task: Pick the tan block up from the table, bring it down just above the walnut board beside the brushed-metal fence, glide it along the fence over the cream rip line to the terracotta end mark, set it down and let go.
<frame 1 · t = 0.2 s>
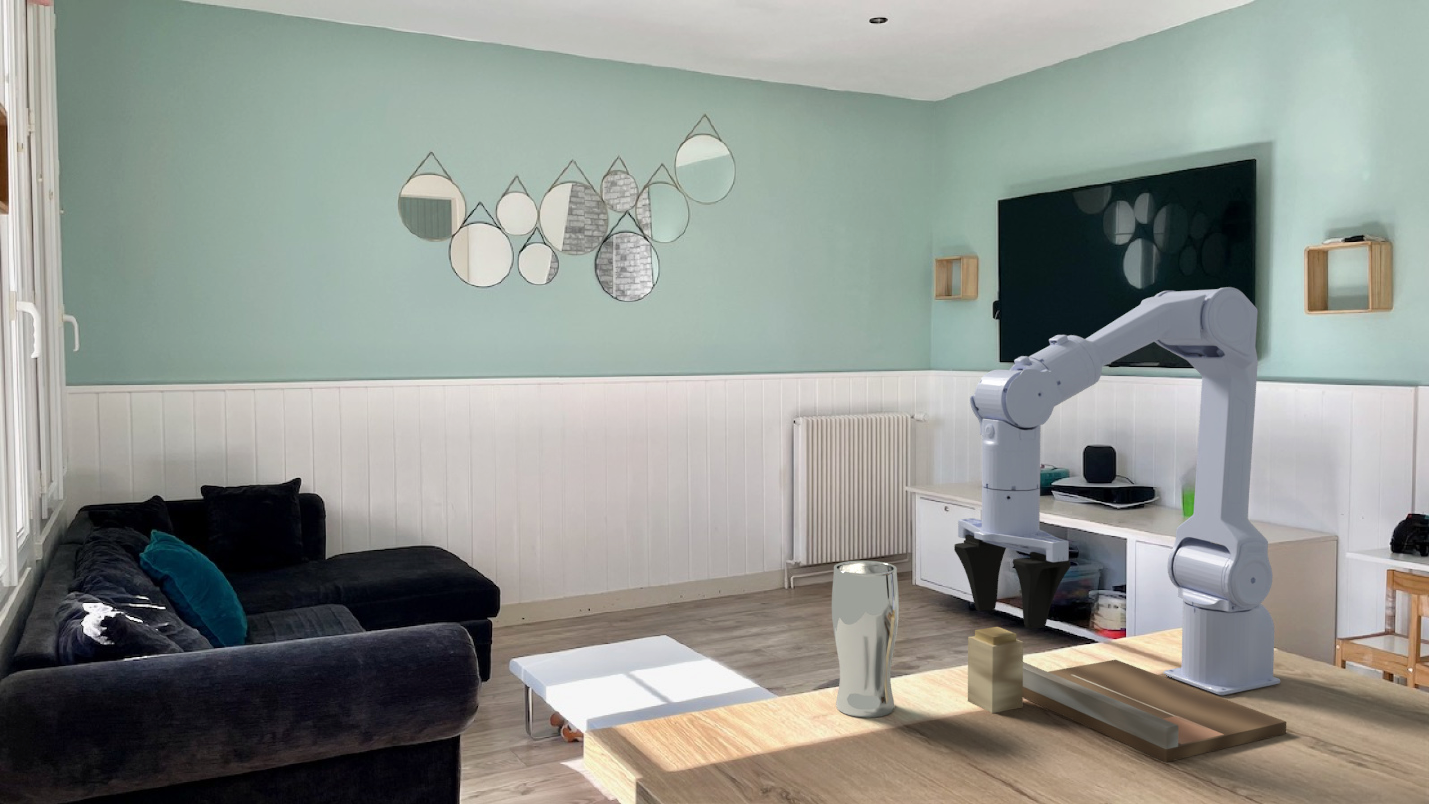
hand: (1009, 618, 109), 10 cm above the table, tool pointing down, fingers open, 7 cm apart
beer glass: (865, 709, 112), on the table
tan block: (994, 704, 112), on the table
board: (1137, 710, 110), on the table
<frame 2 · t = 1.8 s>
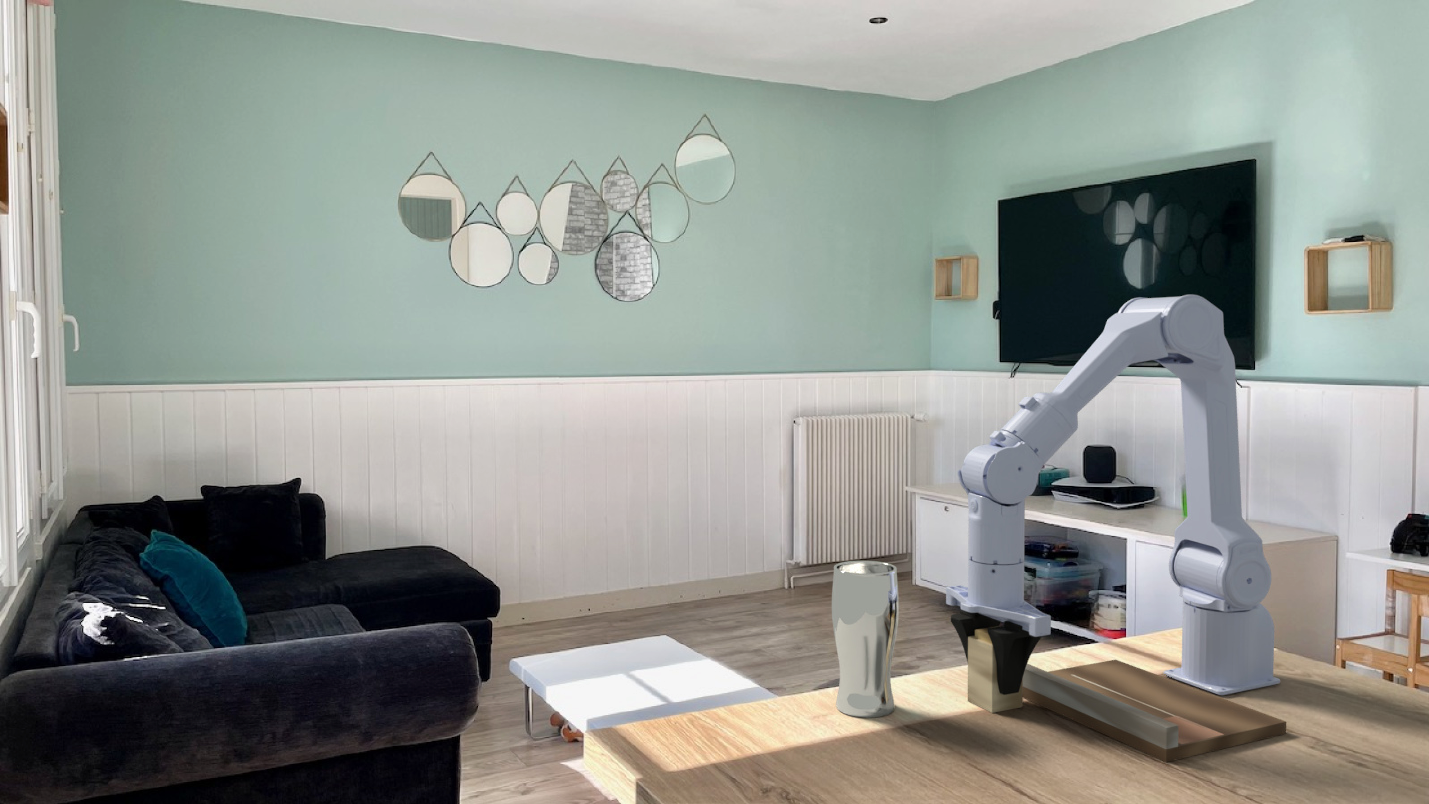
hand: (994, 686, 112), 2 cm above the table, tool pointing down, fingers closed on tan block, 4 cm apart
tan block: (994, 703, 112), on the table, touching gripper
everything else where it was.
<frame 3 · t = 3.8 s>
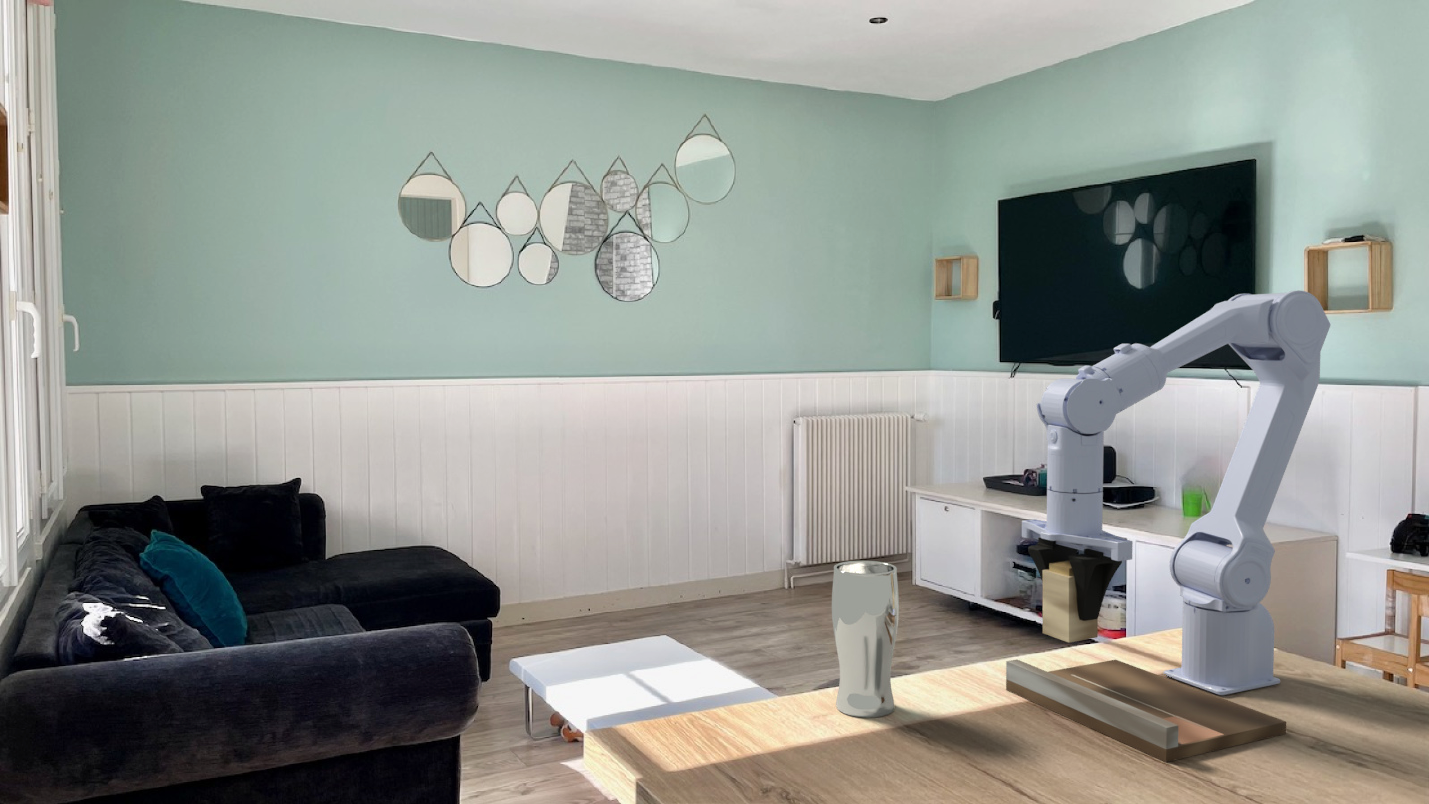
hand: (1073, 614, 115), 9 cm above the table, tool pointing down, fingers closed on tan block, 4 cm apart
tan block: (1069, 635, 115), point 6 cm above the table, touching gripper
everything else where it was.
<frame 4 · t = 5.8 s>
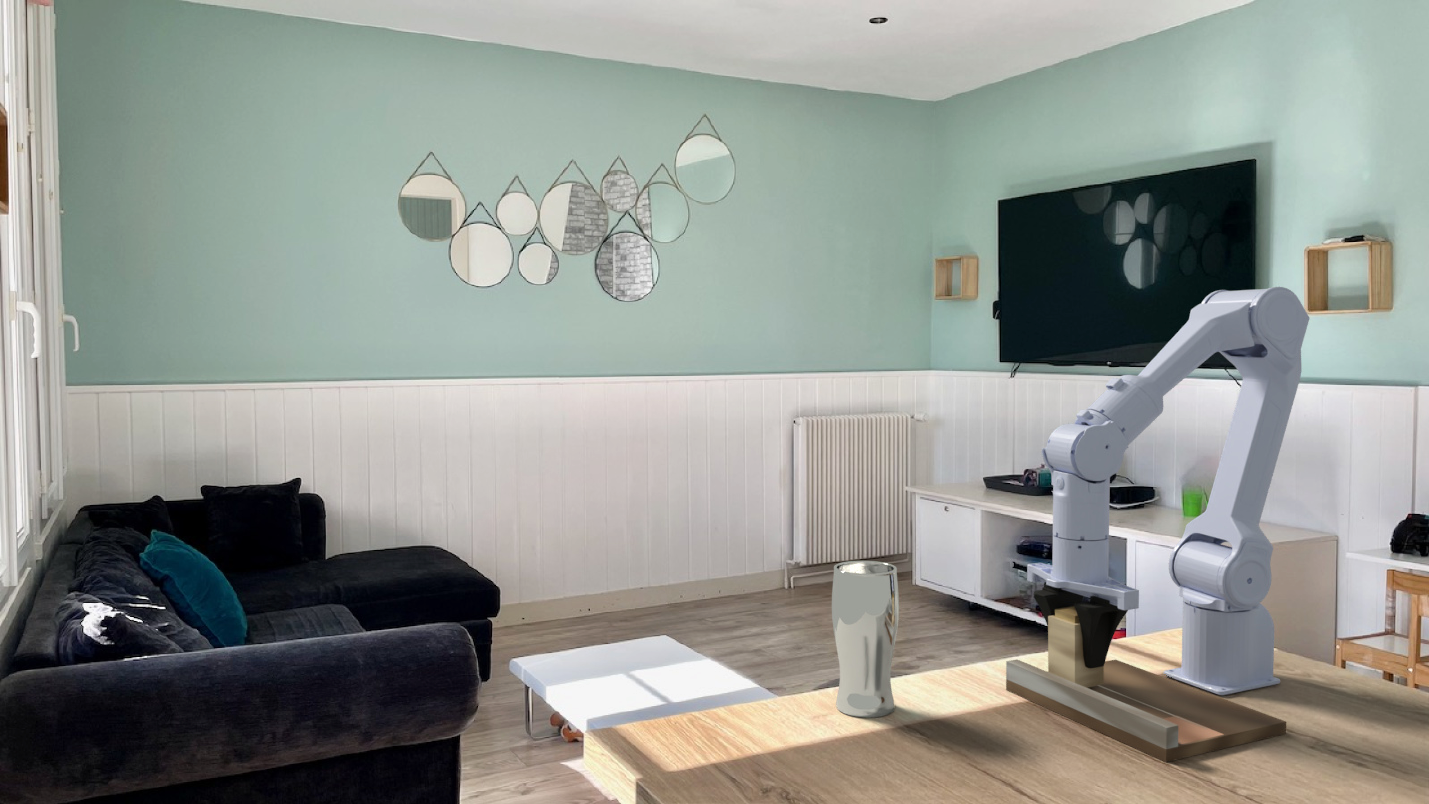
hand: (1079, 660, 114), 4 cm above the table, tool pointing down, fingers closed on tan block, 4 cm apart
tan block: (1075, 681, 114), point 2 cm above the table, touching gripper
everything else where it was.
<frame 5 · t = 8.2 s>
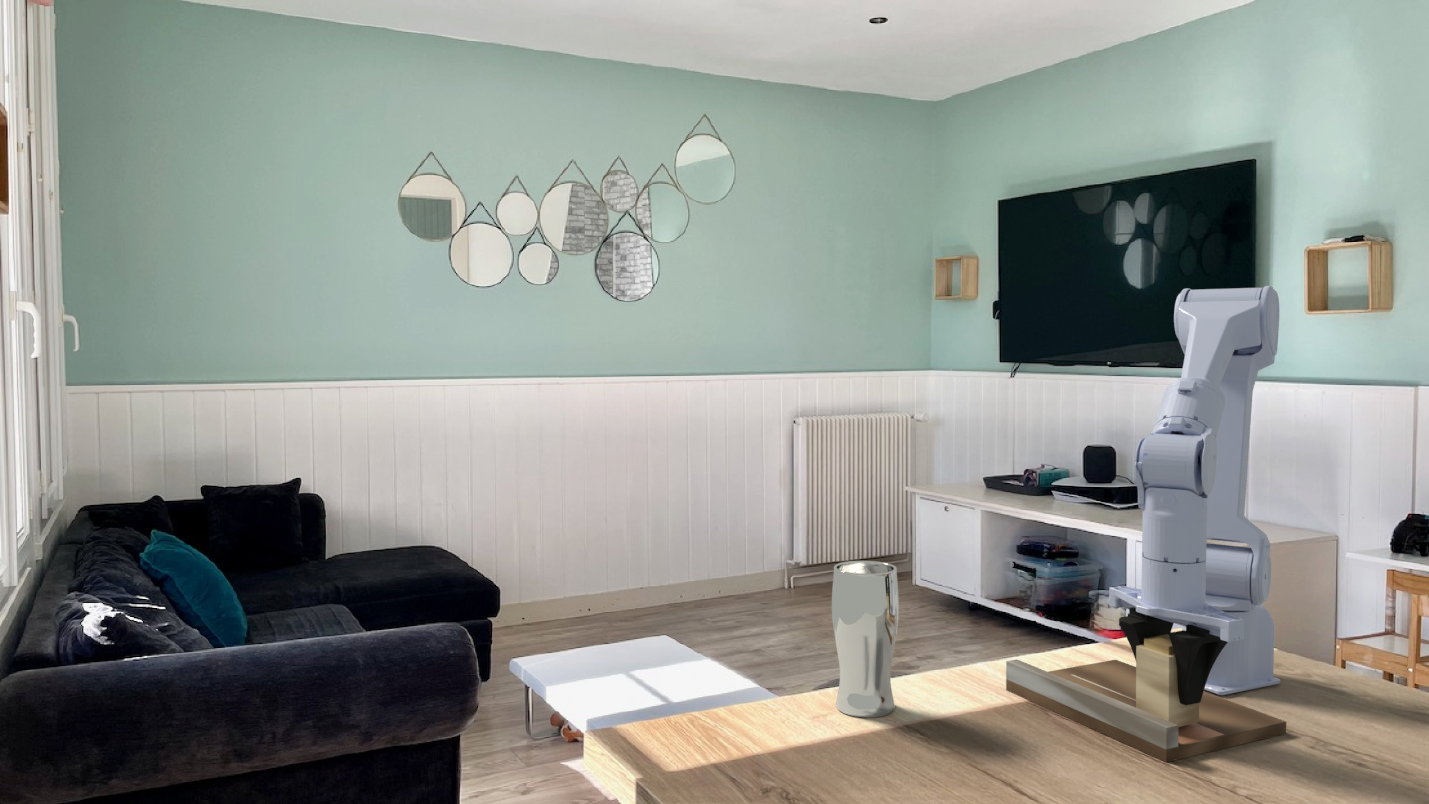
hand: (1171, 695, 103), 4 cm above the table, tool pointing down, fingers closed on tan block, 4 cm apart
tan block: (1167, 718, 103), point 2 cm above the table, touching gripper
everything else where it was.
when the fingers open (4 cm above the table, at t = 10.0 s): tan block stays where it is, resting on board.
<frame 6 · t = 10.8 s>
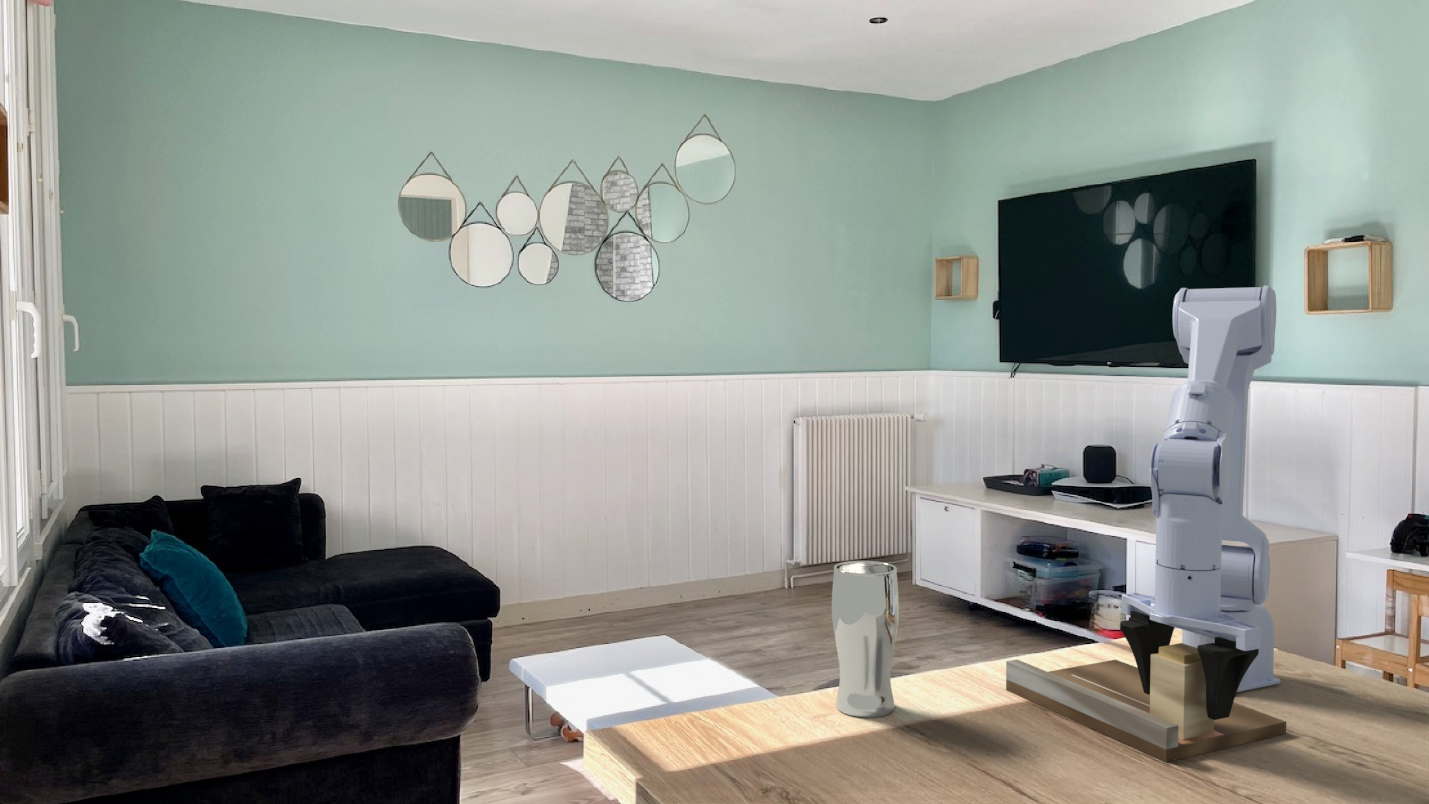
hand: (1185, 704, 102), 4 cm above the table, tool pointing down, fingers open, 7 cm apart
tan block: (1181, 729, 102), point 1 cm above the table, touching board
everything else where it was.
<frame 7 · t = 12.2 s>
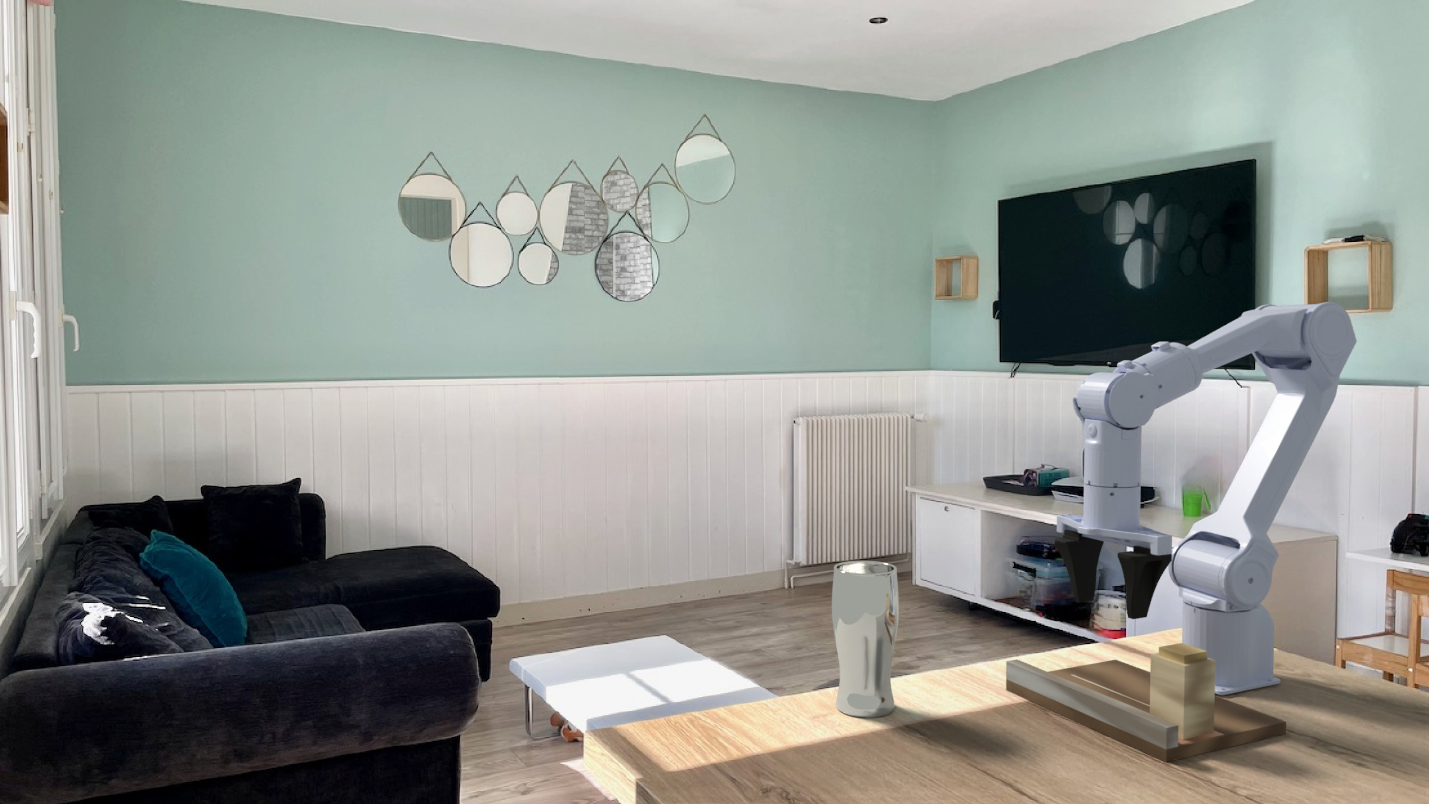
hand: (1110, 609, 114), 9 cm above the table, tool pointing down, fingers open, 7 cm apart
nothing on the table moved.
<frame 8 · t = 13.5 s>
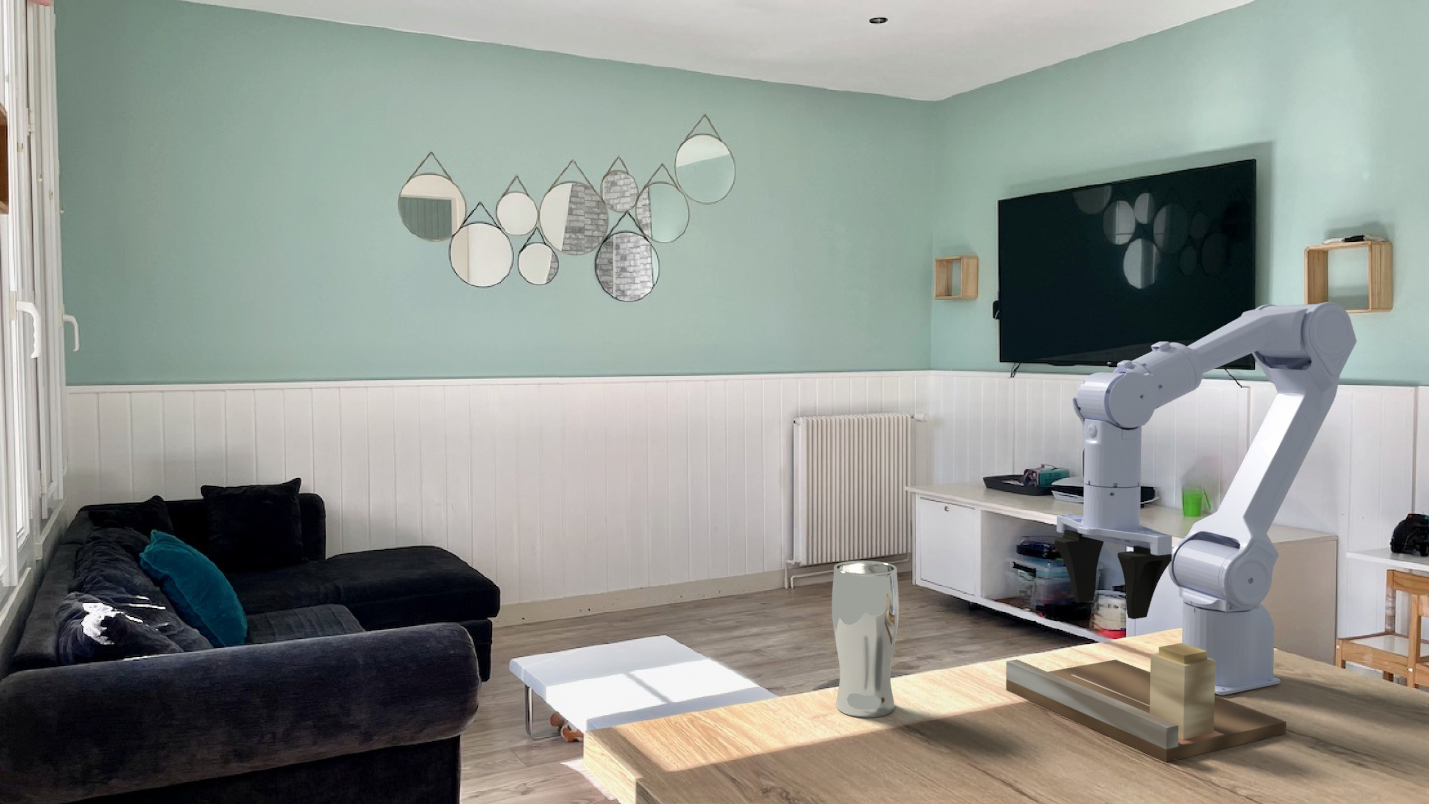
hand: (1110, 609, 114), 9 cm above the table, tool pointing down, fingers open, 7 cm apart
nothing on the table moved.
at the end: tan block 0.5 cm from the target spot on the board, point 1.2 cm above the board's base; tan block tilted 0°; the gripper is holding nothing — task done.
